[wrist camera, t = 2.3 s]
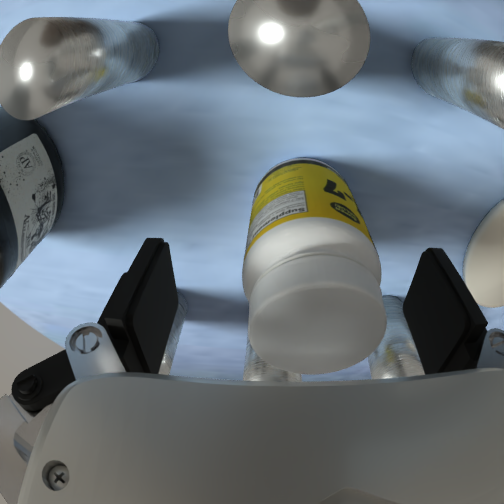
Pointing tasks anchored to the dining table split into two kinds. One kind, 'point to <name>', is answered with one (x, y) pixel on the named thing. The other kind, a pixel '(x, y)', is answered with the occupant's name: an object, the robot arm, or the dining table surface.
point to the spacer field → (264, 73)
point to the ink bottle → (26, 189)
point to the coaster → (487, 260)
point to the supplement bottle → (311, 272)
